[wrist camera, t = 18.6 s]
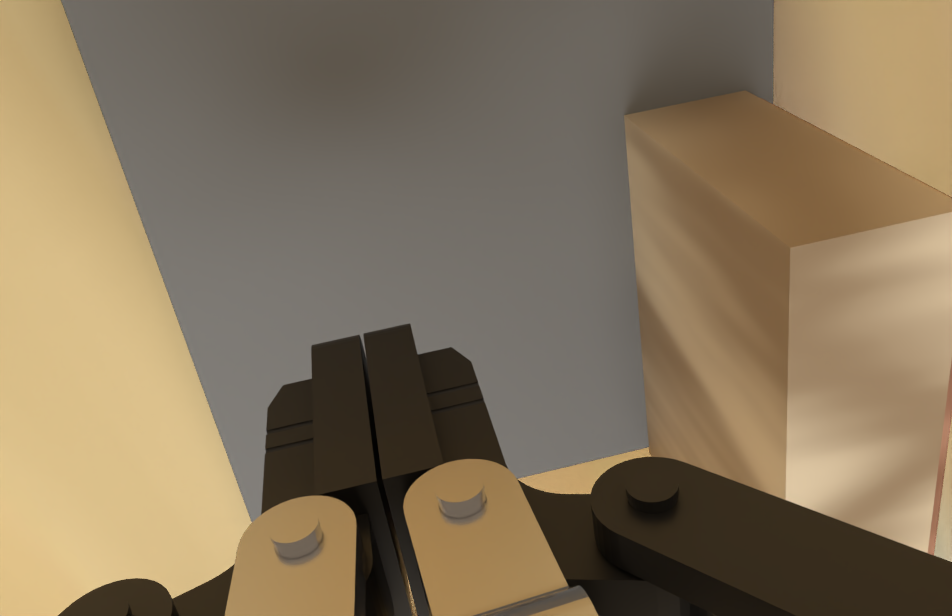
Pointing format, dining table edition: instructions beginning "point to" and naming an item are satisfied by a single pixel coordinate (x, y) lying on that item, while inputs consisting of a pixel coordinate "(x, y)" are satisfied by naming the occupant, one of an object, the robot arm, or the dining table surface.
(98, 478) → the dining table surface
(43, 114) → the dining table surface
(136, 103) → the mat
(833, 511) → the wooden block
